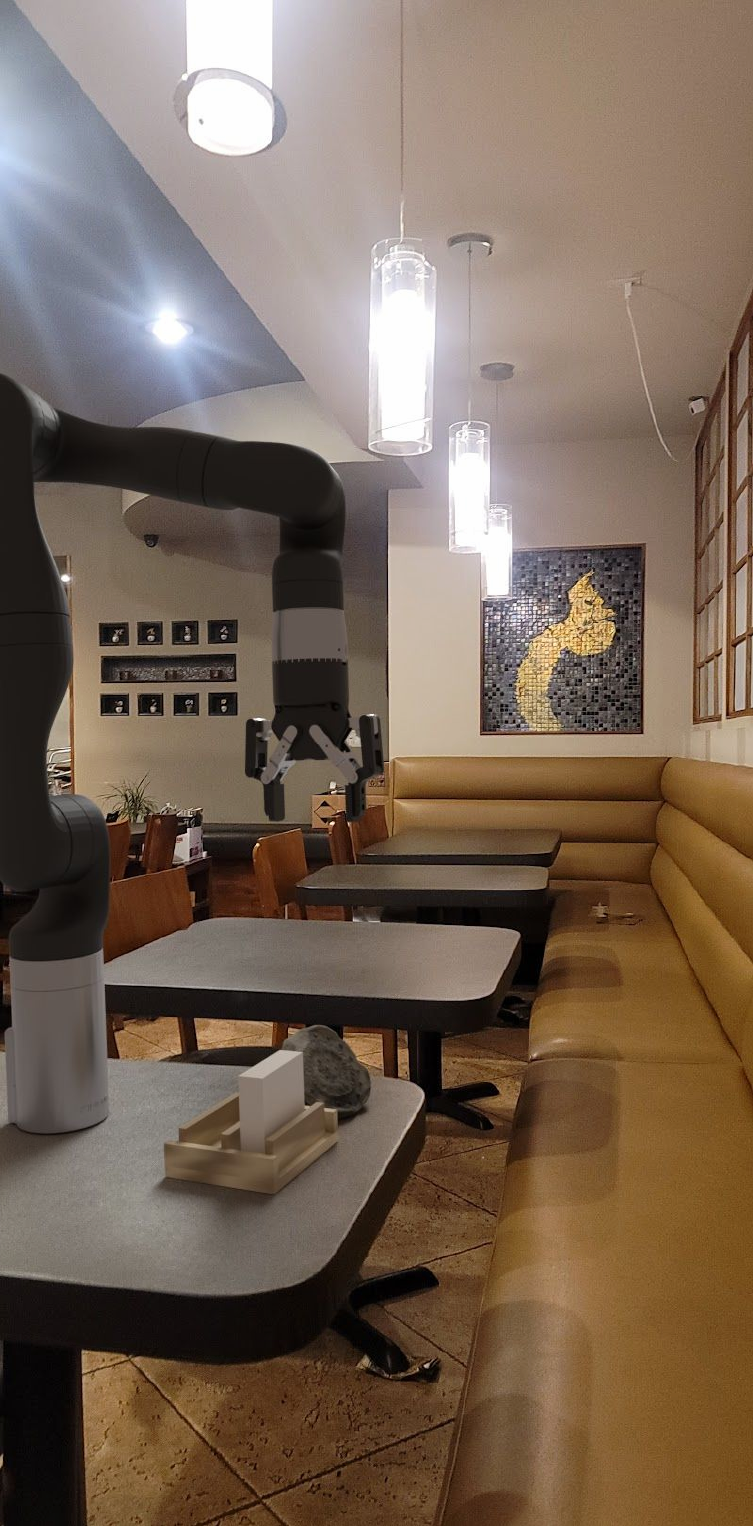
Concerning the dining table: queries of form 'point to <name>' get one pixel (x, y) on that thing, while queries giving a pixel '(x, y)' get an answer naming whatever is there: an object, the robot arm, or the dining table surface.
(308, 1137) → the rack
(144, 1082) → the dining table surface
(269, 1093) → the upright cream slab
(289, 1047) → the fossil
